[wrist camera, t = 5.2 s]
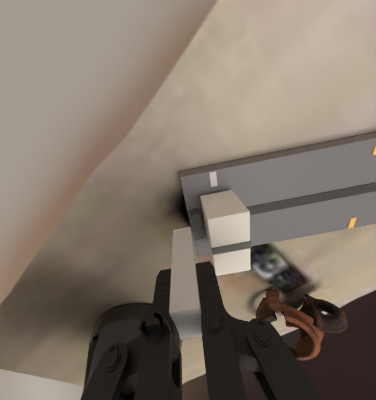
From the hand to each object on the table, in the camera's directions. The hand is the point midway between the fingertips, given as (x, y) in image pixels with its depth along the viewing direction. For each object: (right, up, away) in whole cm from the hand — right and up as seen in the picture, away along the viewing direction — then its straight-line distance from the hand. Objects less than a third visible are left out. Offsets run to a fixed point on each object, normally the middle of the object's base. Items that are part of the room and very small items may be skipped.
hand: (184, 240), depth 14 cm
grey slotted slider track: (+13, +5, +4) cm, 14 cm away
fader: (+3, +2, +2) cm, 4 cm away
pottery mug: (+17, -13, +13) cm, 26 cm away
